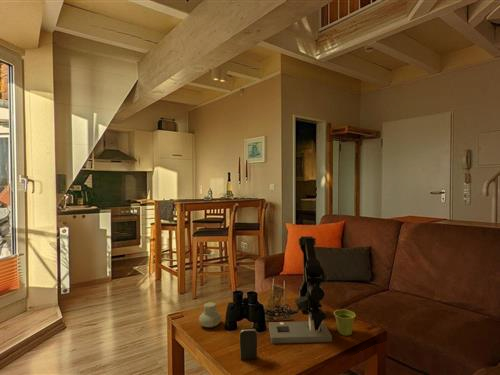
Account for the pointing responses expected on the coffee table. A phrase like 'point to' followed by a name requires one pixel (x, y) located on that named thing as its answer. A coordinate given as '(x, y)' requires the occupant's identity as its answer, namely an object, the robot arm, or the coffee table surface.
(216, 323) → the air freshener
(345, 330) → the plant pot
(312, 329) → the plug
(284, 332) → the panel board
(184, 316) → the coffee table surface
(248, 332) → the battery charger
